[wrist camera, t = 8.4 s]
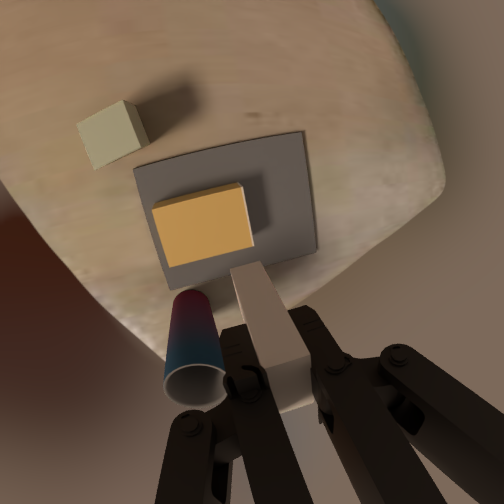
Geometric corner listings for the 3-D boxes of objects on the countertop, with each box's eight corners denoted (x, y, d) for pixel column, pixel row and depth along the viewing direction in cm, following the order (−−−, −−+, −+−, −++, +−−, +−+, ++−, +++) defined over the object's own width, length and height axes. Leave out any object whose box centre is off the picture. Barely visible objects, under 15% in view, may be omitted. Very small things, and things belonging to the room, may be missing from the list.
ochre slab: (238, 182, 34) (154, 203, 33) (242, 186, 31) (151, 209, 30) (249, 236, 37) (170, 256, 36) (254, 245, 34) (169, 267, 33)
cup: (218, 322, 42) (235, 403, 28) (171, 327, 41) (171, 411, 27) (213, 280, 39) (230, 359, 26) (162, 286, 38) (155, 367, 24)
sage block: (96, 124, 28) (76, 124, 22) (135, 105, 29) (122, 99, 22) (111, 162, 31) (94, 170, 24) (150, 144, 31) (140, 147, 25)
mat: (133, 168, 31) (132, 169, 31) (299, 131, 34) (301, 132, 33) (170, 288, 38) (170, 290, 38) (314, 250, 41) (316, 252, 40)
